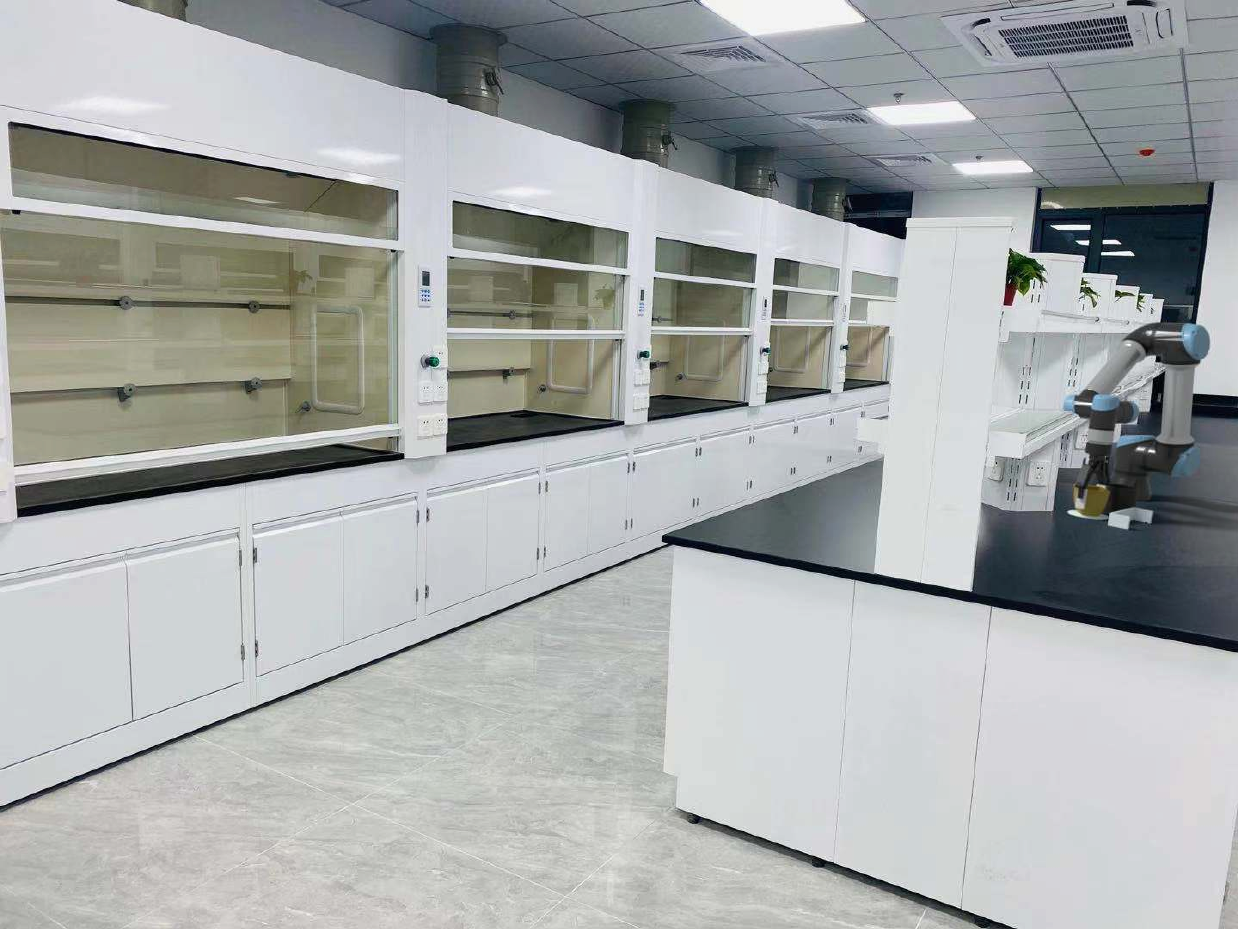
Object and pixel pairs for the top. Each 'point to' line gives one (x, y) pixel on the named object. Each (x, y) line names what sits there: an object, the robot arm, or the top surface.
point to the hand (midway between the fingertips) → (1089, 506)
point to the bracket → (1129, 517)
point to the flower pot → (1093, 500)
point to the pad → (1099, 517)
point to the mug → (1121, 497)
